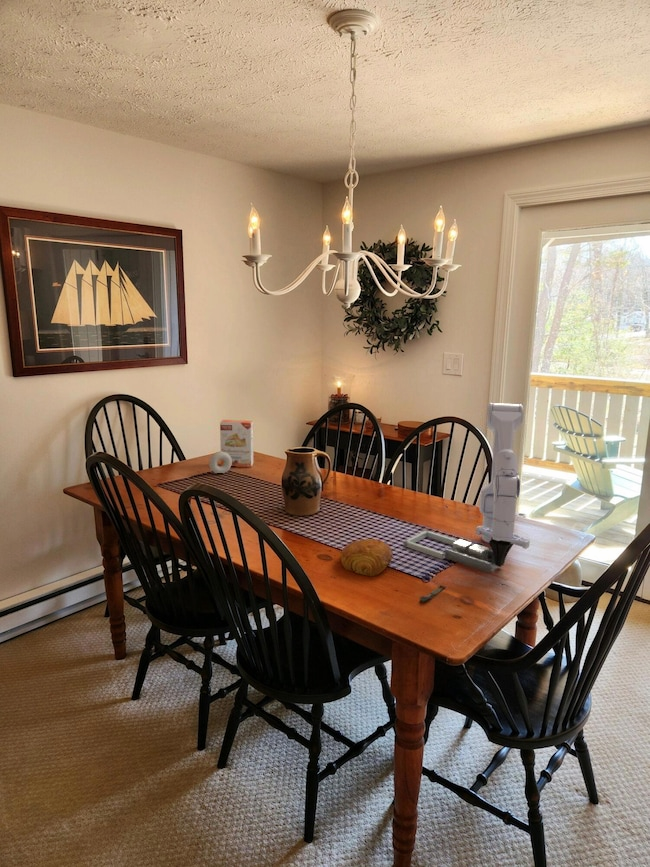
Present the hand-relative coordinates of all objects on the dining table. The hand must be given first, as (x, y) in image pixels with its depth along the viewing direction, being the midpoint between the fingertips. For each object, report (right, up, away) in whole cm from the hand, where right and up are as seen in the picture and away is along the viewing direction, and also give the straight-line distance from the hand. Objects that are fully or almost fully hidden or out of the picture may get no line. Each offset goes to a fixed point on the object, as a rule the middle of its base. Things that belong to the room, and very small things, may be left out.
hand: (499, 564), depth 155 cm
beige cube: (-9, +1, +8) cm, 12 cm away
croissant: (-37, -1, +4) cm, 37 cm away
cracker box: (-88, +21, +101) cm, 136 cm away
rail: (-6, -1, +5) cm, 8 cm away
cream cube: (-5, 0, +5) cm, 7 cm away
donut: (-93, +19, +88) cm, 130 cm away
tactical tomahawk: (-19, -4, -8) cm, 21 cm away
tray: (-16, +1, +14) cm, 21 cm away
